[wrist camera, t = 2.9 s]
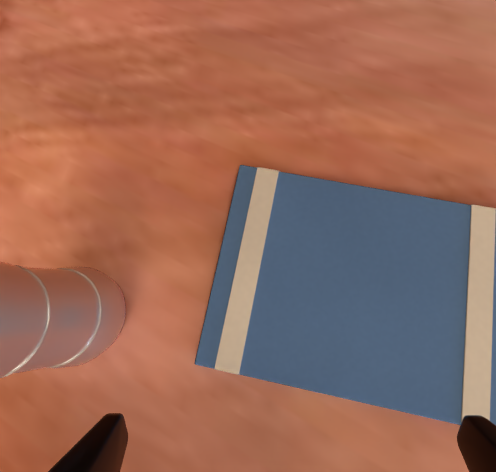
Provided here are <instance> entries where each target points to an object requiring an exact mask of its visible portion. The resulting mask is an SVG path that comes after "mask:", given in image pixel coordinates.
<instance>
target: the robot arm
mask: <svg viewBox="0 0 496 472" xmlns="http://www.w3.org/2000/svg"><path fill="white" fill-rule="evenodd" d="M127 442H128V432H127V428H126V424H125V420H124V416H123V415H122V414H120V413H109V414H107V415H105V416H104V417H103V418H102V419H101V420H100V421H99V422H98V423H97V424H96V425H95V426H94V427H93V428H92V429H91V430H90V431H89V432H88V433H87V434H86V435H85V436H84V437H83V438H82V439H81V440H80V441H79V442H78V443H77V444H76V445H75V446H74V447H73V448H72V449H71V450H70V451H69V452H68V453H67V454H65V455H64V456H63V457H62V458H61V459H60V460H59V461H58V462H57V463H56V464H55V465H54V466H53V467H52V468H51V469H50V470H49V471H48V472H120V469H121V465H122V462H123V458H124V454H125V450H126V447H127ZM457 442H458V446H459V449H460V451H461V453H462V456H463V458H464V460H465V463H466V465H467V467H468V470H469V472H496V425H495V424H493V423H492V422H491V421H489V420H488V419H486V418H485V417H483V416H480V415H466V416H464V418H463V420H462V423H461V426H460V429H459V432H458V435H457Z"/></svg>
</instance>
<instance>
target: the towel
mask: <svg viewBox="0 0 496 472" xmlns="http://www.w3.org/2000/svg"><path fill="white" fill-rule="evenodd" d="M195 364H196V365H200V366H205V367H209V368H213V369H216V370H220V371H224V372H229V373H233V374H237V375H239V374H240V375H244V376H249V377H253V378H257V379H262V380H266V381H270V382H275V383H279V384H284V385H288V386H292V387H297V388H301V389H305V390H310V391H314V392H319V393H323V394H327V395H332V396H336V397H340V398H345V399H349V400H354V401H358V402H362V403H367V404H371V405H375V406H380V407H384V408H389V409H393V410H397V411H402V412H406V413H410V414H415V415H419V416H424V417H428V418H432V419H437V420H441V421H446V422H450V423H454V424H459V425H461V423H462V420H463V418H464V416H466V415H480V416H483V417H485V418H486V419H488V420H489V421H491V422H492V423H493V424H495V425H496V209H495V208H489V207H483V206H478V205H467V204H461V203H456V202H450V201H444V200H438V199H433V198H427V197H421V196H416V195H410V194H404V193H398V192H393V191H387V190H381V189H376V188H370V187H364V186H358V185H353V184H347V183H341V182H336V181H330V180H324V179H319V178H313V177H307V176H301V175H296V174H290V173H284V172H279V171H278V170H272V169H266V168H260V167H257V168H256V167H250V166H244V165H240V167H239V172H238V176H237V180H236V185H235V189H234V194H233V198H232V202H231V207H230V211H229V215H228V220H227V224H226V229H225V233H224V237H223V242H222V246H221V251H220V255H219V259H218V264H217V268H216V272H215V277H214V281H213V286H212V290H211V294H210V299H209V303H208V307H207V312H206V316H205V321H204V325H203V329H202V334H201V338H200V343H199V347H198V351H197V356H196V360H195Z"/></svg>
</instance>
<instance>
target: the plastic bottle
mask: <svg viewBox="0 0 496 472" xmlns="http://www.w3.org/2000/svg"><path fill="white" fill-rule="evenodd" d="M125 315H126V305H125V300H124V296H123V293H122V291H121V289H120V288H119V286H118V285H117V283H116V282H114V281H113V280H112V279H111V278H110V277H108V276H106V275H105V274H103V273H101V272H100V271H98V270H95V269H92V268H87V267H66V268H58V269H44V268H26V267H22V266H18V265H12V264H9V263H4V262H0V378H2V377H5V376H8V375H11V374H13V373H19V372H24V371H30V370H36V369H41V368H62V367H71V366H78V365H81V364H84V363H87V362H88V361H90V360H92V359H94V358H95V357H97V356H98V355H100V354H101V353H103V352H104V351H105V350H106V349H107V348H109V347H110V346H111V345H112V344H113V342H114V341H115V340H116V339H117V337H118V335H119V333H120V332H121V329H122V327H123V324H124V320H125Z"/></svg>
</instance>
